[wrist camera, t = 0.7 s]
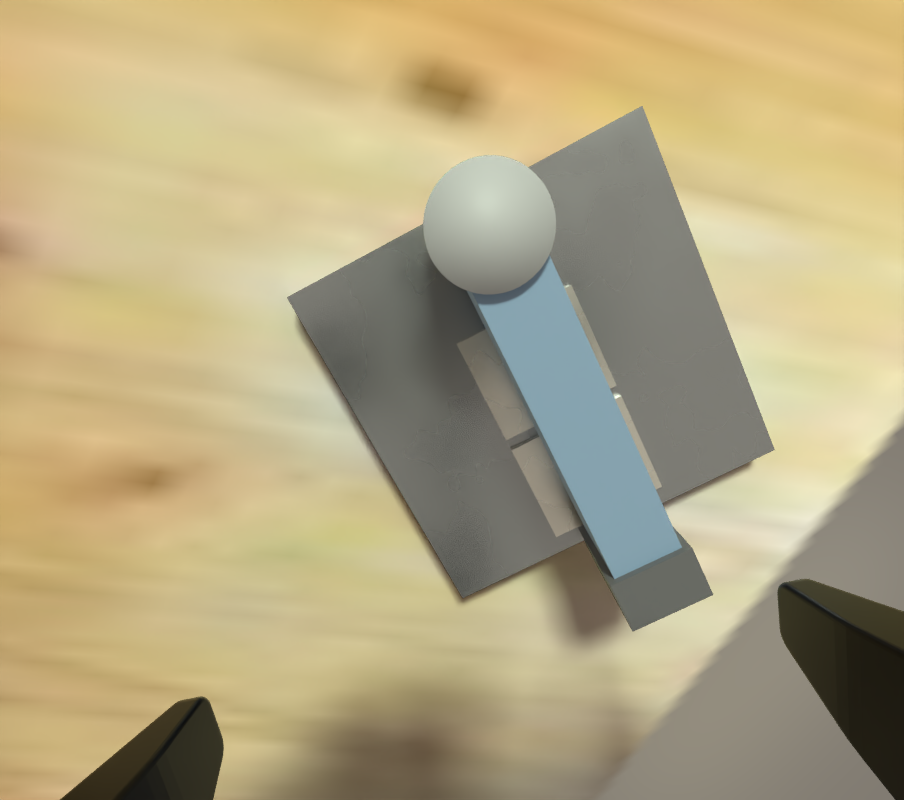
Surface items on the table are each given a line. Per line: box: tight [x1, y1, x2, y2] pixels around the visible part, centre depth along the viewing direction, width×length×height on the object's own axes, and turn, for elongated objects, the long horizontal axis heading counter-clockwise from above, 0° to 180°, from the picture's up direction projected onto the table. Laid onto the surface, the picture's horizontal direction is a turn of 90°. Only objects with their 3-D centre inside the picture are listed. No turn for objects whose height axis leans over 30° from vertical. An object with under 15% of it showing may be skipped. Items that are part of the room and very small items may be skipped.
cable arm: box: [423, 155, 713, 631], centre depth 15 cm, size 13×3×4 cm, turn 27°
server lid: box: [287, 106, 774, 598], centre depth 18 cm, size 12×12×2 cm
